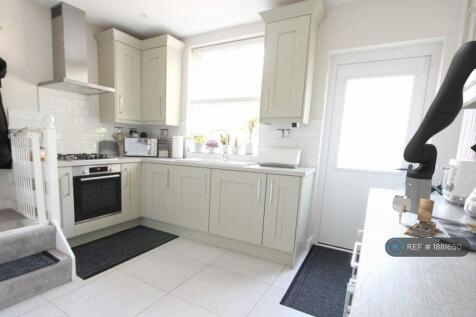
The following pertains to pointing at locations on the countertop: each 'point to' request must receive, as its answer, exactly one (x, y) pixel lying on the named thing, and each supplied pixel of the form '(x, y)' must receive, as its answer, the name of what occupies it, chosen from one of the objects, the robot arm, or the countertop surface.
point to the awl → (425, 212)
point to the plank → (421, 233)
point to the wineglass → (401, 205)
